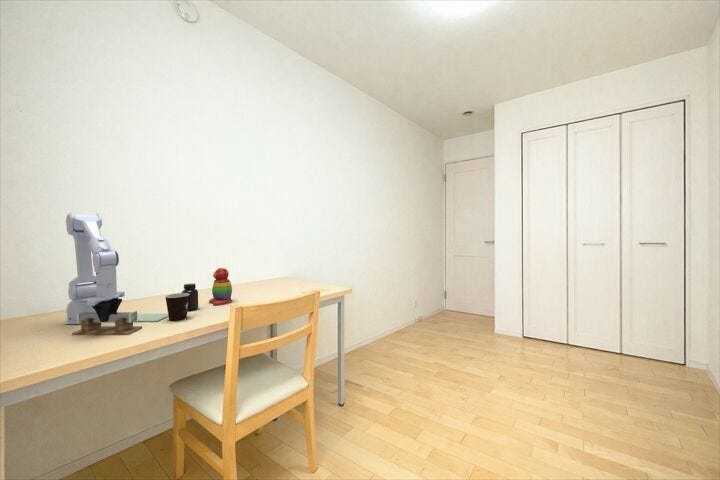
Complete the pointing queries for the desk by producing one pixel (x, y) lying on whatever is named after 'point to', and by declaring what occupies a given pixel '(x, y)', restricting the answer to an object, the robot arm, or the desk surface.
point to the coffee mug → (177, 306)
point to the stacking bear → (221, 288)
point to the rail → (112, 316)
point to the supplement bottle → (191, 296)
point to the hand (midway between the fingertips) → (107, 320)
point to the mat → (150, 317)
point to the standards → (106, 328)
